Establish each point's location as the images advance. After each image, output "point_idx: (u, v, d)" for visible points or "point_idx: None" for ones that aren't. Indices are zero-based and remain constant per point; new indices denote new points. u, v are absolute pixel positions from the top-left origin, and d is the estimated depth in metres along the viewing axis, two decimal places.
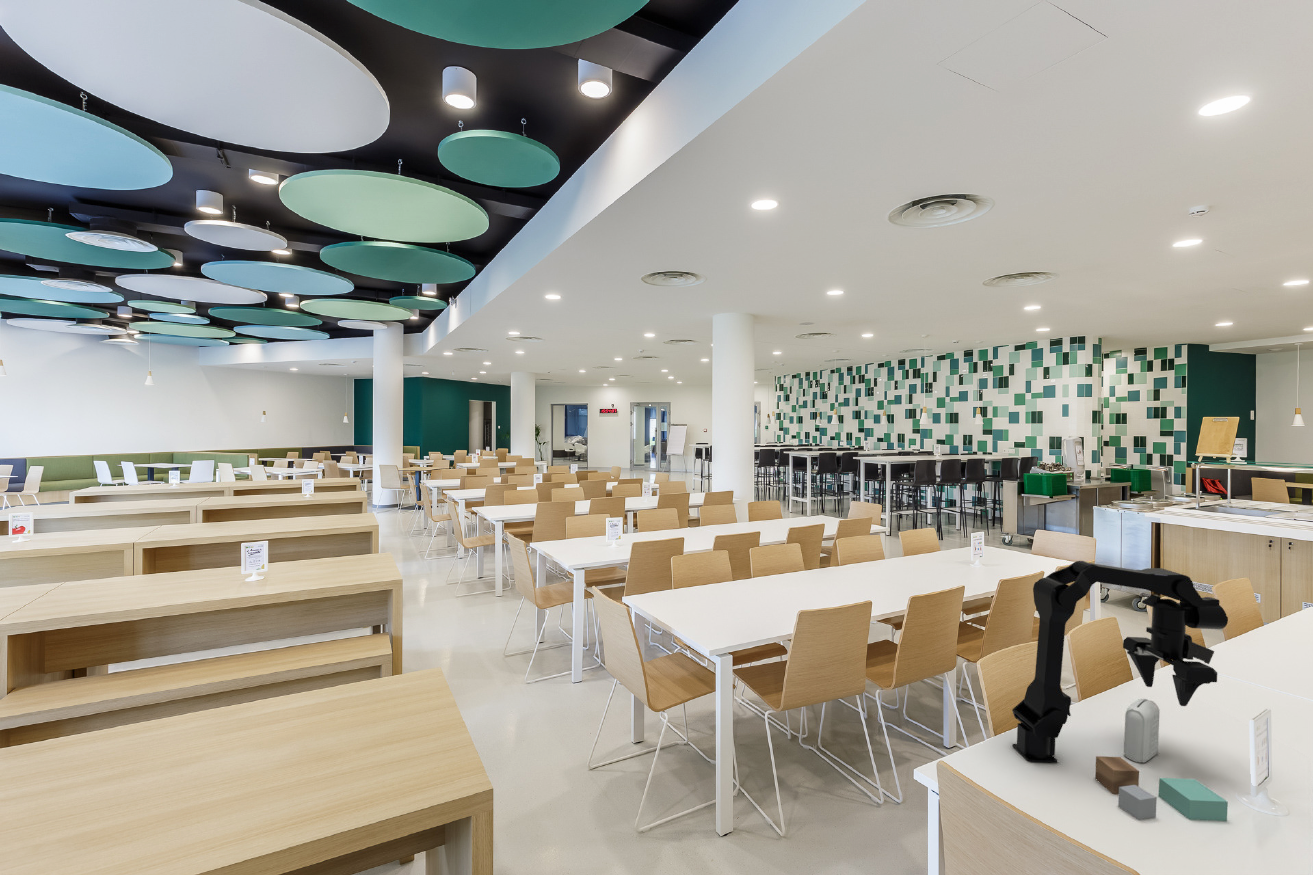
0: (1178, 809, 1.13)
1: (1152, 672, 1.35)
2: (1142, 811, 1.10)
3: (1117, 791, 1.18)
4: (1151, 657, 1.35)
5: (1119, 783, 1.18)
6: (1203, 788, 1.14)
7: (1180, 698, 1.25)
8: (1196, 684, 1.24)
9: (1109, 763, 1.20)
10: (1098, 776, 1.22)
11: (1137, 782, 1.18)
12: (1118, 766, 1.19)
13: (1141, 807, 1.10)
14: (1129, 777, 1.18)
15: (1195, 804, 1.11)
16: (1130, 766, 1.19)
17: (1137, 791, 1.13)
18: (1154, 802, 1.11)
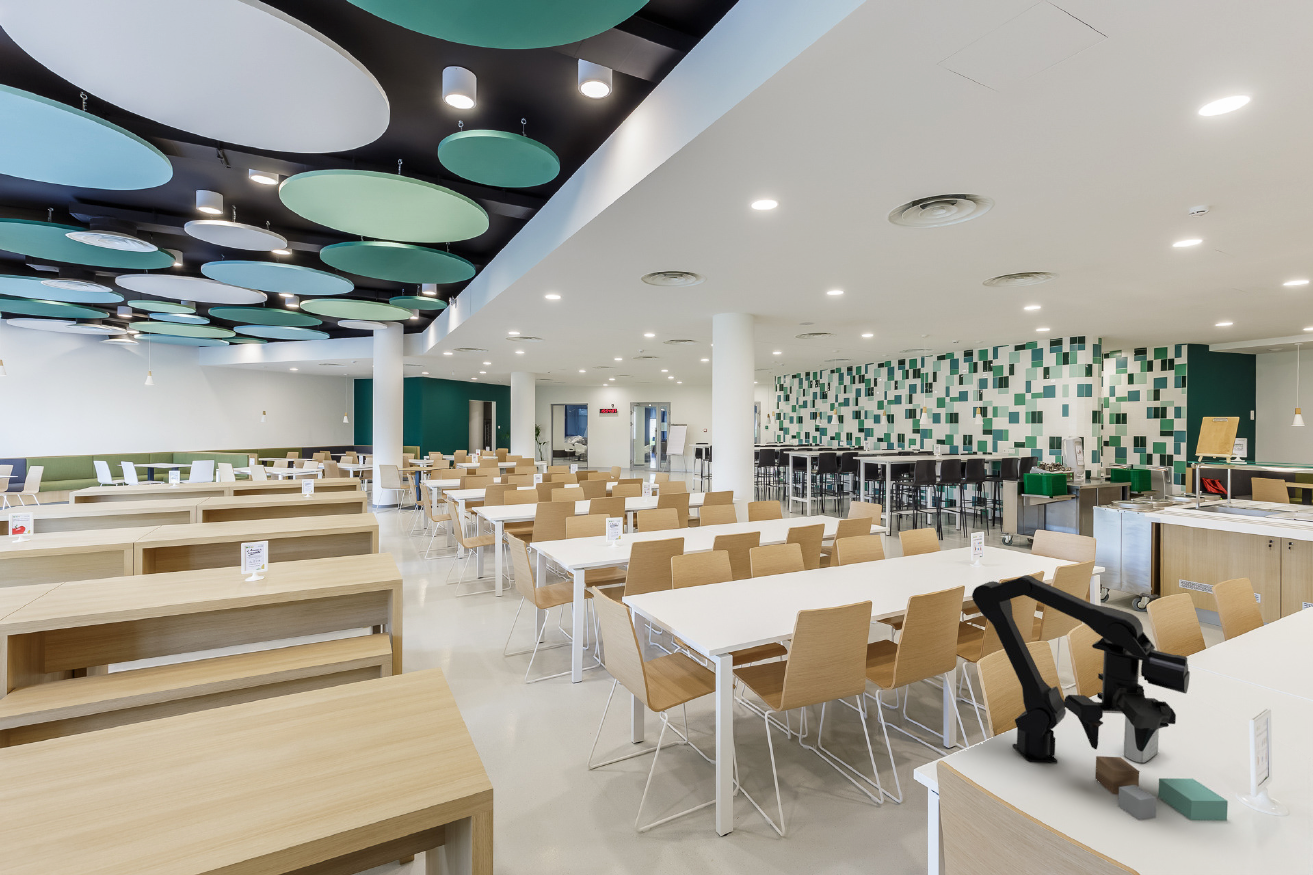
0: (1179, 810, 1.13)
1: (1143, 736, 1.20)
2: (1142, 811, 1.10)
3: (1117, 791, 1.18)
4: None
5: (1119, 783, 1.18)
6: (1202, 788, 1.15)
7: None
8: (1090, 724, 1.20)
9: (1109, 763, 1.20)
10: (1098, 776, 1.22)
11: (1137, 782, 1.18)
12: (1118, 766, 1.19)
13: (1141, 807, 1.10)
14: (1129, 777, 1.18)
15: (1197, 804, 1.11)
16: (1130, 766, 1.19)
17: (1137, 791, 1.13)
18: (1154, 802, 1.11)
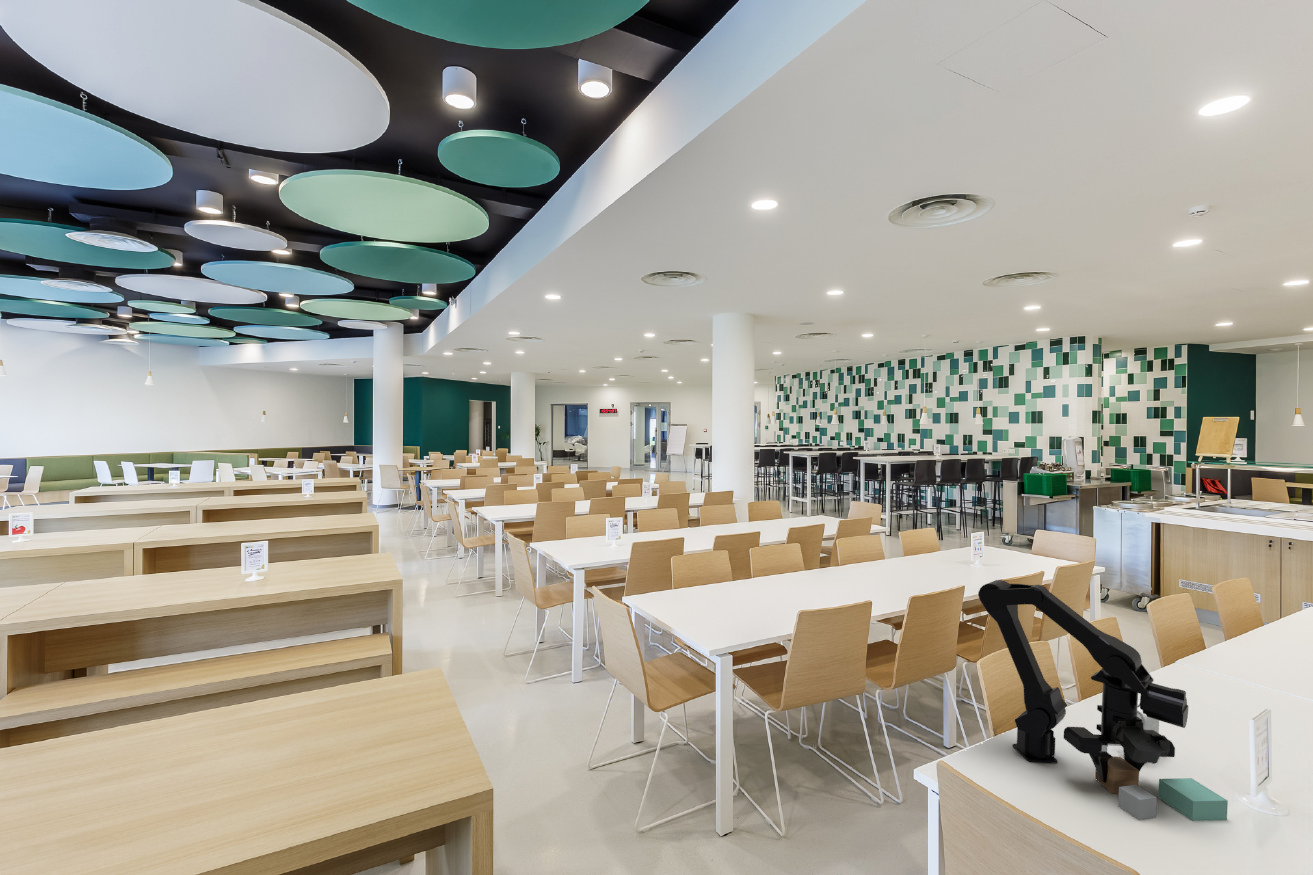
0: (1180, 810, 1.13)
1: None
2: (1142, 811, 1.10)
3: (1117, 790, 1.18)
4: None
5: (1119, 782, 1.18)
6: (1202, 787, 1.15)
7: None
8: (1098, 757, 1.20)
9: (1109, 762, 1.20)
10: (1098, 775, 1.22)
11: (1137, 782, 1.18)
12: (1118, 766, 1.19)
13: (1141, 807, 1.10)
14: (1129, 776, 1.18)
15: (1198, 804, 1.10)
16: (1130, 766, 1.19)
17: (1137, 791, 1.13)
18: (1154, 802, 1.11)
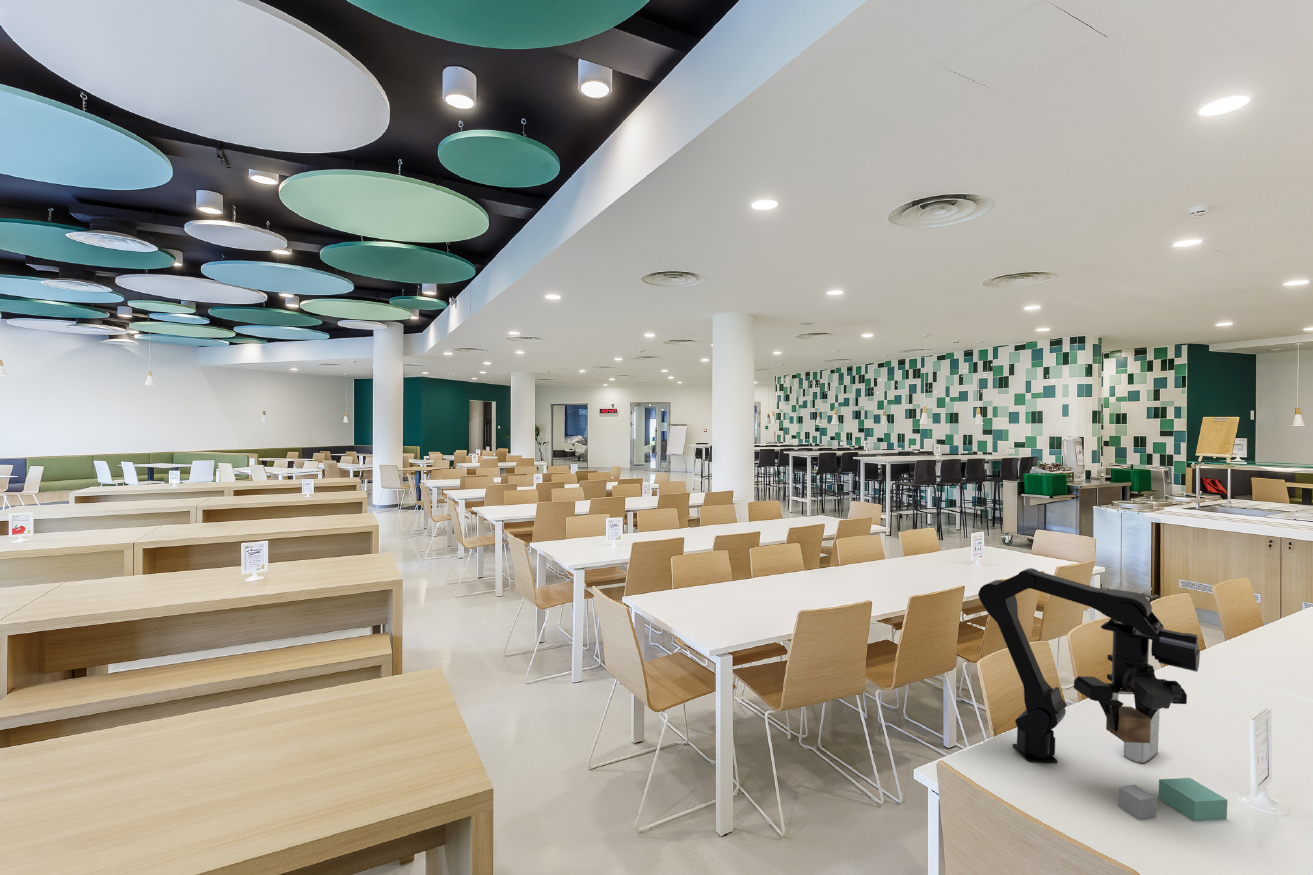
0: (1181, 811, 1.13)
1: None
2: (1142, 811, 1.10)
3: (1128, 739, 1.17)
4: None
5: (1130, 730, 1.17)
6: (1201, 787, 1.15)
7: None
8: (1109, 705, 1.18)
9: (1120, 711, 1.19)
10: (1109, 725, 1.21)
11: (1149, 729, 1.17)
12: (1129, 714, 1.18)
13: (1141, 807, 1.10)
14: (1141, 724, 1.17)
15: (1199, 805, 1.10)
16: (1141, 714, 1.18)
17: (1137, 791, 1.13)
18: (1154, 802, 1.11)
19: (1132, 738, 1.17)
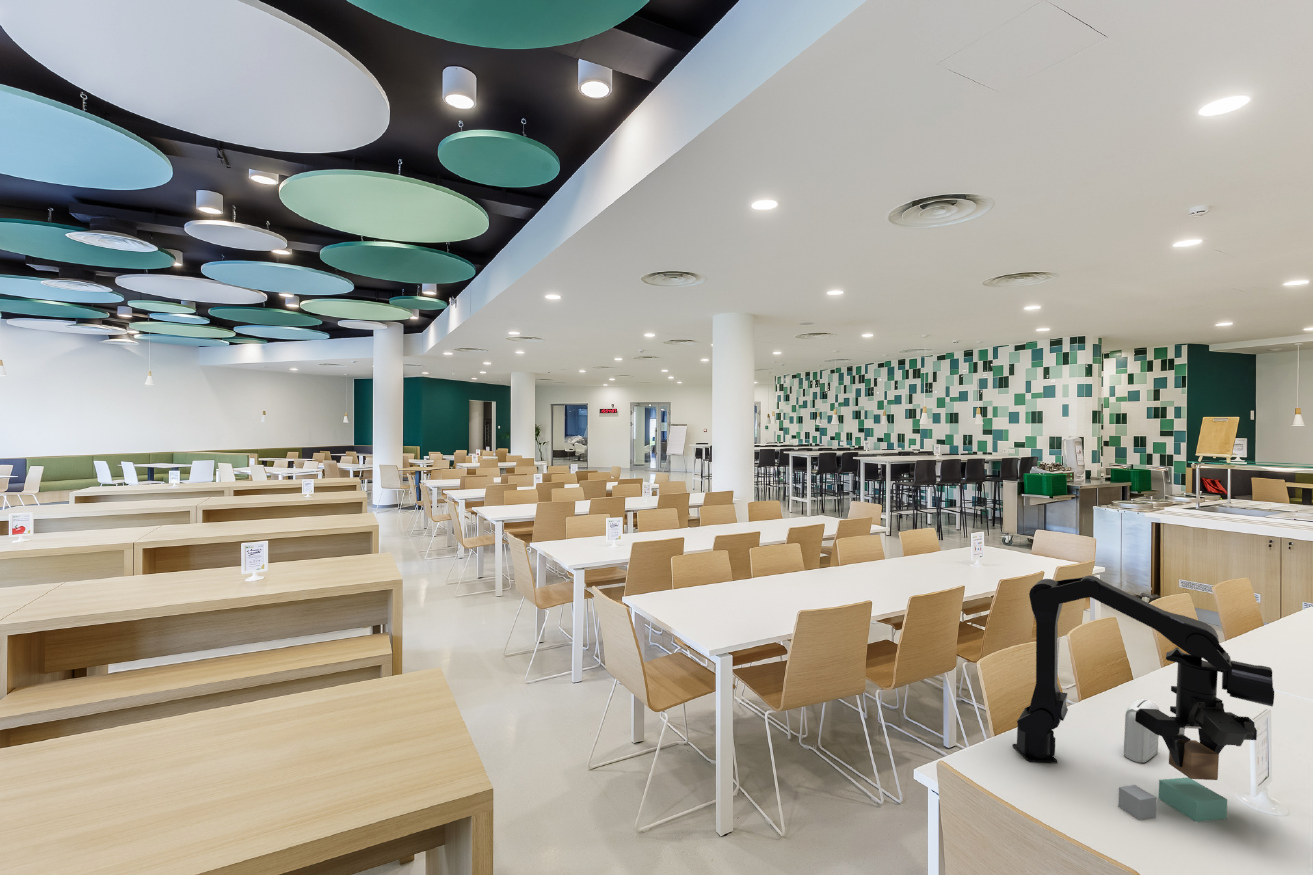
0: (1182, 811, 1.12)
1: None
2: (1142, 811, 1.10)
3: (1195, 775, 1.12)
4: None
5: (1197, 767, 1.12)
6: (1200, 786, 1.15)
7: None
8: (1174, 740, 1.13)
9: (1185, 746, 1.14)
10: (1172, 760, 1.16)
11: (1217, 766, 1.11)
12: (1196, 749, 1.13)
13: (1141, 807, 1.10)
14: (1208, 760, 1.11)
15: (1201, 805, 1.10)
16: (1208, 749, 1.13)
17: (1137, 791, 1.13)
18: (1154, 802, 1.11)
19: (1199, 775, 1.12)
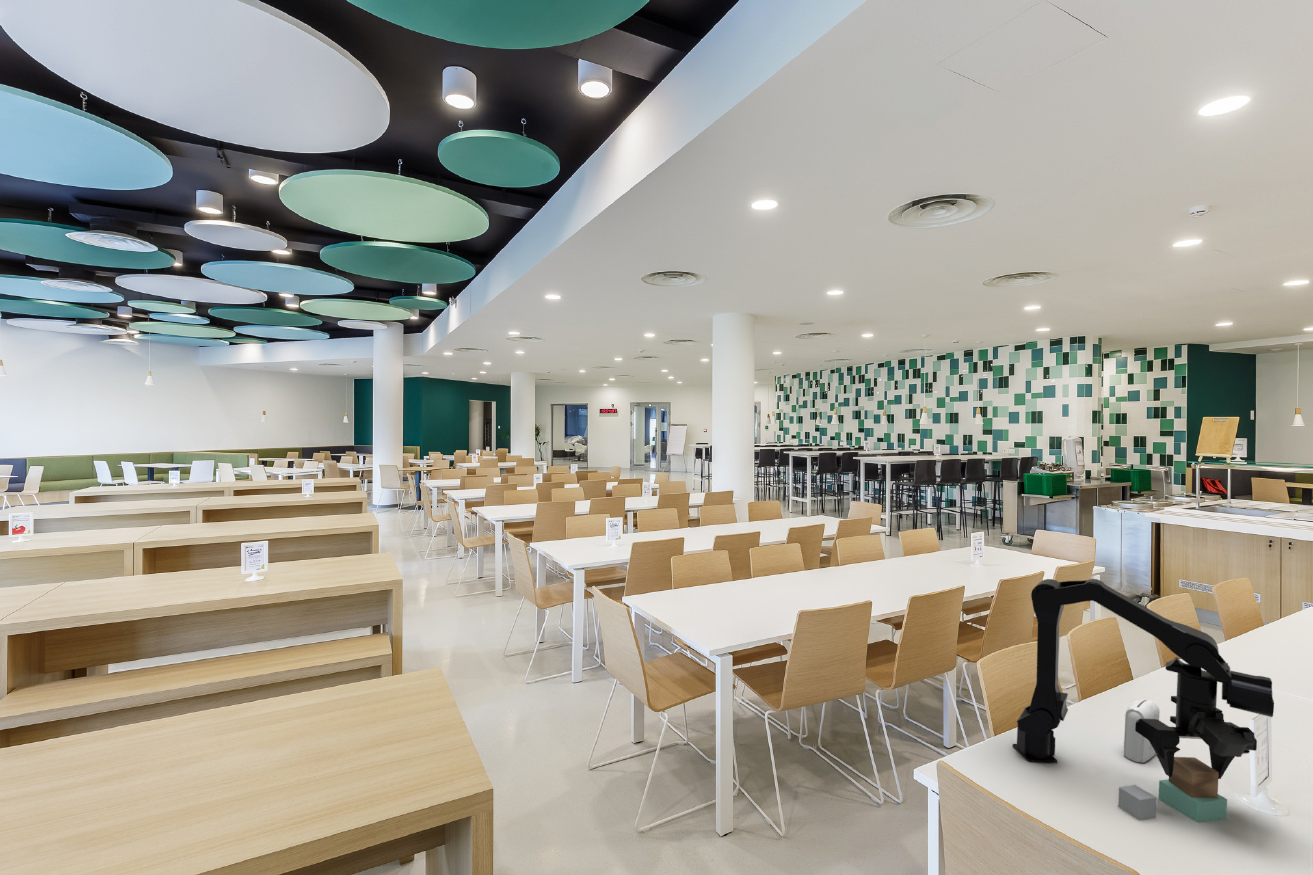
0: (1183, 812, 1.12)
1: (1221, 762, 1.13)
2: (1142, 811, 1.10)
3: (1195, 794, 1.12)
4: None
5: (1197, 785, 1.12)
6: None
7: None
8: (1164, 750, 1.13)
9: (1185, 764, 1.14)
10: (1172, 778, 1.16)
11: (1216, 784, 1.11)
12: (1195, 767, 1.13)
13: (1141, 807, 1.10)
14: (1208, 779, 1.11)
15: (1202, 806, 1.10)
16: (1208, 767, 1.13)
17: (1137, 791, 1.13)
18: (1154, 802, 1.11)
19: (1199, 793, 1.12)
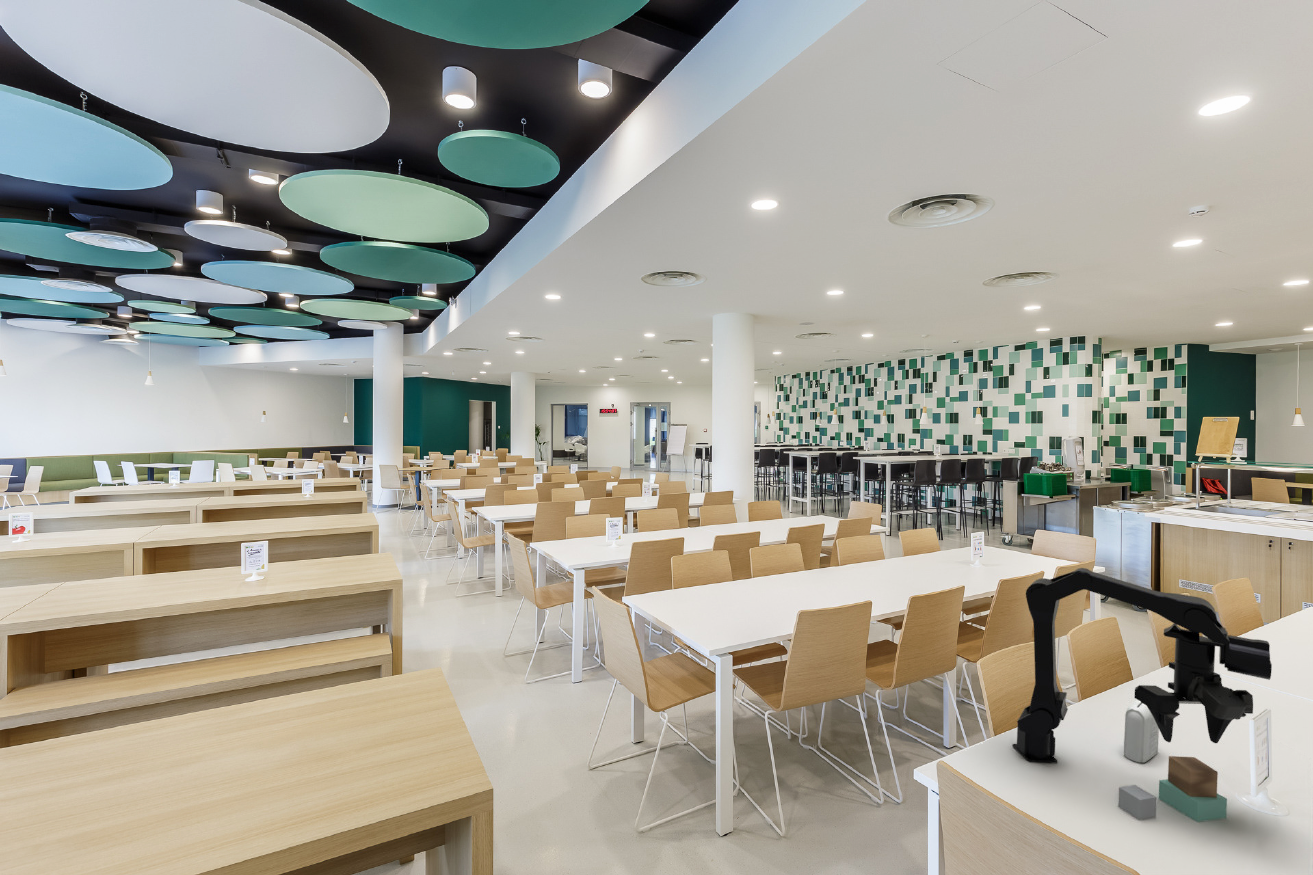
0: (1183, 812, 1.12)
1: (1218, 727, 1.14)
2: (1142, 811, 1.10)
3: (1194, 793, 1.12)
4: None
5: (1196, 784, 1.12)
6: None
7: None
8: (1164, 716, 1.13)
9: (1184, 763, 1.14)
10: (1171, 777, 1.16)
11: (1215, 783, 1.12)
12: (1194, 767, 1.13)
13: (1141, 807, 1.10)
14: (1207, 778, 1.12)
15: (1202, 805, 1.10)
16: (1207, 767, 1.13)
17: (1137, 791, 1.13)
18: (1154, 802, 1.11)
19: (1198, 792, 1.12)
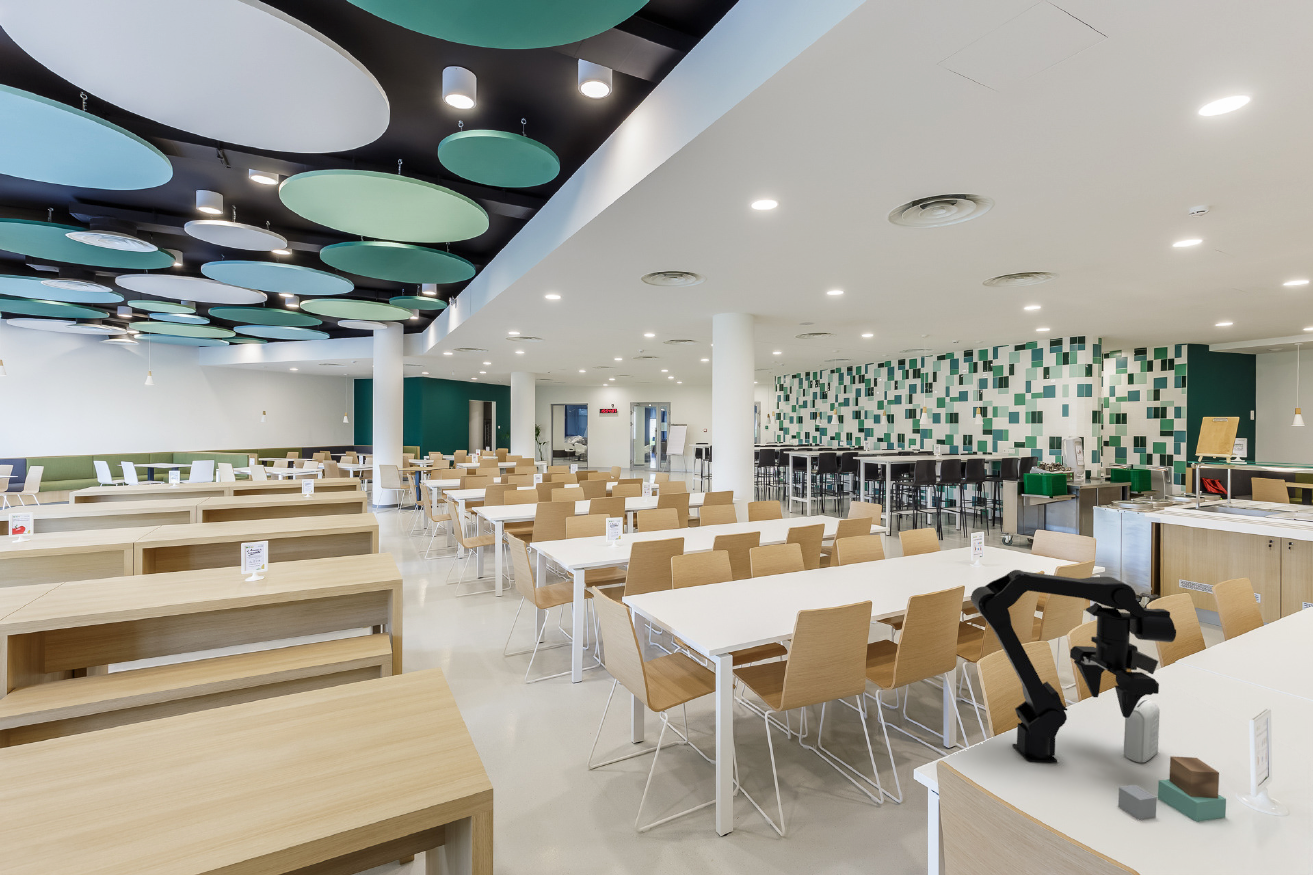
0: (1183, 812, 1.12)
1: (1098, 682, 1.33)
2: (1142, 811, 1.10)
3: (1195, 793, 1.12)
4: (1097, 667, 1.33)
5: (1197, 784, 1.12)
6: None
7: (1123, 709, 1.23)
8: (1138, 695, 1.22)
9: (1185, 764, 1.14)
10: (1173, 777, 1.16)
11: (1217, 784, 1.11)
12: (1196, 767, 1.13)
13: (1141, 807, 1.10)
14: (1208, 778, 1.12)
15: (1201, 805, 1.10)
16: (1209, 767, 1.13)
17: (1137, 791, 1.13)
18: (1154, 802, 1.11)
19: (1199, 793, 1.12)
